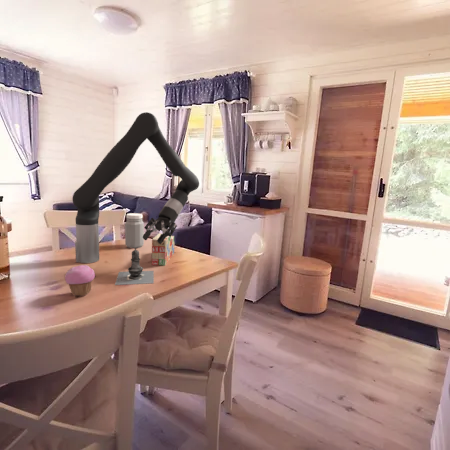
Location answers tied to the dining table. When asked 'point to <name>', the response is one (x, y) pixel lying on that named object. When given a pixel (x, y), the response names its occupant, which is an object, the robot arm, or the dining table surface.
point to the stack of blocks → (162, 250)
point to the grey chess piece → (135, 266)
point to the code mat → (124, 279)
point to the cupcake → (80, 279)
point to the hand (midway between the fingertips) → (151, 240)
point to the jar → (134, 230)
